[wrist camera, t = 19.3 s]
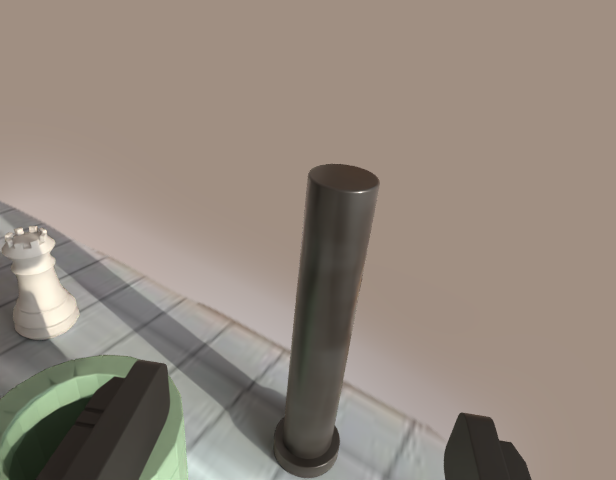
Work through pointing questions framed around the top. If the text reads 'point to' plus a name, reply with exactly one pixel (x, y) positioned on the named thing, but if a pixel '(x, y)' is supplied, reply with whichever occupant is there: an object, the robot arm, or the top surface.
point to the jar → (66, 409)
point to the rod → (324, 313)
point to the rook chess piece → (38, 286)
